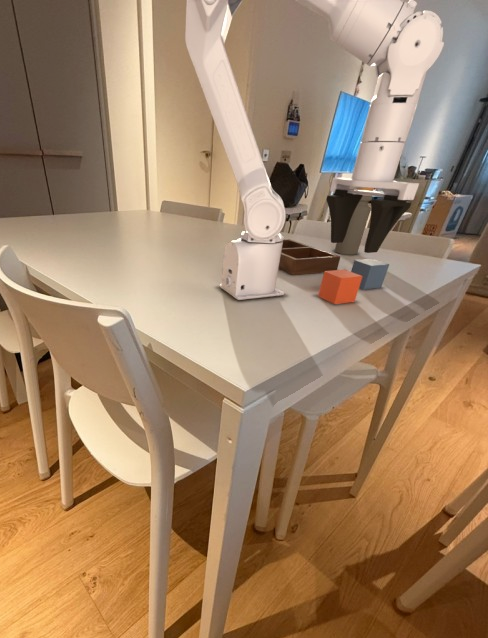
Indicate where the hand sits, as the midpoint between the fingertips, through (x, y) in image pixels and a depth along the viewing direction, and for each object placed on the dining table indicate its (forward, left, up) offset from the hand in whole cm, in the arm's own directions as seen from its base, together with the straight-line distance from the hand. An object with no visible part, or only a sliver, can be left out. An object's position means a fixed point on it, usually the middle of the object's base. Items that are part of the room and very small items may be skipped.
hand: (352, 247), depth 55 cm
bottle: (+27, +30, -9) cm, 41 cm away
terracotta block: (-1, 0, -8) cm, 9 cm away
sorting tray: (+6, +25, -8) cm, 27 cm away
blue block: (+10, +5, -8) cm, 14 cm away
